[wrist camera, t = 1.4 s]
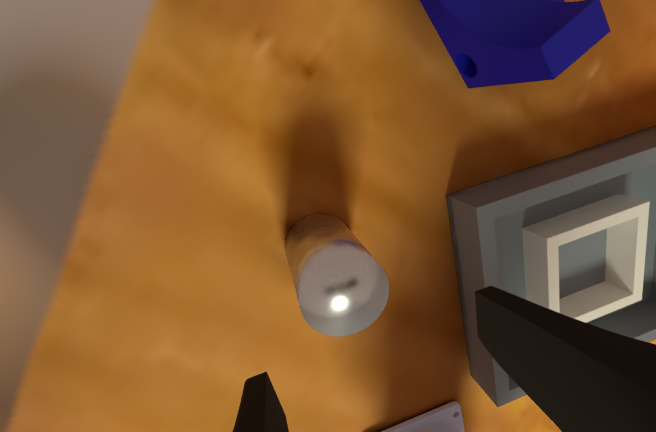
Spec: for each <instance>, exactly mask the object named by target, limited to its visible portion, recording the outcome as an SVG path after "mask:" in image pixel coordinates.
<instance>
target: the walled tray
mask: <svg viewBox="0 0 656 432" xmlns="http://www.w3.org/2000/svg"><path fill="white" fill-rule="evenodd" d="M446 199H447V206H448V213H449V221H450V228H451V235H452V242H453V249H454V257H455V264H456V271H457V278H458V285H459V292H460V300H461V307H462V314H463V321H464V328H465V336H466V343H467V350H468V357H469V364H470V372H471V376H472V377H473V378H474V380H475V381H476V382H477V383H478V384H479V386H480V387H481V388H482V389H483V390H484V391H485V393H486V394H487V395H488V396H489V397H490V399H491V400H492V401H493V402H494V403H495V404H496V406H497V407H499V406H502V405H504V404H506V403H509V402H511V401H513V400H516V399H518V398H520V397H522V396H525V395H527V394H526V393H525V392H524V391H523V390H522V389H521V388H520V387H519V386H518V385H517V384H516V383H515V381H514V380H513V379H512V378H511V377H510V376H509V375H508V374H507V373H506V372H505V371H504V370H503V369H502V368H501V367H500V366H499V364H498V363H497V362H496V361H495V359H494V358H493V357H492V356H491V354H490V353H489V352H488V350H487V349H486V348H485V346H484V345H483V344H482V342H481V341H480V340H479V338H478V332H477V318H476V303H475V291H478V290H480V289H483V288H486V287H488V286H493V287H496V288H499V289H501V290H504V291H506V292H509V293H511V294H514V295H516V296H518V297H521V298H523V299H526V300H528V301H531V302H533V303H536V304H538V305H540V306H543V307H545V308H548V309H550V310H553V311H556V312H558V313H561V314H563V315H566V316H569V317H571V318H574V319H577V320H579V321H582V322H585V323H588V324H591V325H594V326H597V327H600V328H602V329H605V330H608V331H611V332H614V333H618V334H621V335H624V336H627V337H631V338H634V339H638V340H641V341H645V342H650V341H653V340H655V339H656V126H654V127H651V128H648V129H645V130H642V131H639V132H636V133H633V134H630V135H627V136H624V137H621V138H618V139H615V140H612V141H609V142H606V143H603V144H600V145H597V146H594V147H591V148H588V149H585V150H582V151H579V152H576V153H573V154H569V155H566V156H563V157H560V158H557V159H554V160H551V161H548V162H545V163H542V164H539V165H536V166H533V167H530V168H527V169H524V170H521V171H518V172H515V173H512V174H509V175H506V176H503V177H500V178H497V179H494V180H491V181H488V182H485V183H482V184H479V185H476V186H473V187H470V188H467V189H464V190H461V191H458V192H455V193H452V194H449V195H446Z"/></svg>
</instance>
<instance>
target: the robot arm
mask: <svg viewBox="0 0 656 432" xmlns="http://www.w3.org/2000/svg"><path fill="white" fill-rule="evenodd" d="M475 303H476V318H477V332H478V338H479V340H480V341H481V342H482V344H483V345H484V346H485V348H486V349H487V350H488V352H489V353H490V354H491V356H492V357H493V358H494V359H495V361H496V362H497V363H498V364H499V366H500V367H501V368H502V369H503V370H504V371H505V372H506V373H507V374H508V375H509V376H510V377H511V378H512V379H513V380H514V381H515V383H516V384H517V385H518V386H519V387H520V388H521V389H522V390H523V391H524V392H525V393H526V394H527V395H528V396H529V397H530V398H531V399H532V400H533V401H534V402H535V403H536V404H537V405H538V406H539V407H540V409H541V410H542V411H543V412H544V413H545V414H546V415H547V416H548V417H549V418H550V419H551V420H552V421H553V422H554V423H555V424H556V425H557V426H558V427H559V429H560V430H561V431H562V432H656V345H655V344H652V343H648V342H645V341H641V340H638V339H634V338H631V337H627V336H624V335H621V334H618V333H614V332H611V331H608V330H605V329H602V328H600V327H597V326H594V325H591V324H588V323H585V322H582V321H579V320H577V319H574V318H571V317H569V316H566V315H563V314H561V313H558V312H556V311H553V310H550V309H548V308H545V307H543V306H540V305H538V304H536V303H533V302H531V301H528V300H526V299H523V298H521V297H518V296H516V295H514V294H511V293H509V292H506V291H504V290H501V289H499V288H496V287H493V286H488V287H486V288H483V289H480V290H478V291H475ZM233 432H289V431H288V426H287V421H286V416H285V413H284V411H283V409H282V406H281V404H280V402H279V399H278V397H277V395H276V392H275V390H274V388H273V386H272V383H271V381H270V379H269V376H268V374H267V372H264V373H262V374H259V375H257V376H254V377H251V378H249V379H247V380H246V382H245V384H244V389H243V394H242V398H241V403H240V407H239V411H238V415H237V418H236V422H235V426H234V429H233ZM381 432H465V430H464V424H463V417H462V411H461V406H460V405H459V403H458V402H456V401H453V402H450V403H448V404H445V405H443V406H441V407H438V408H436V409H434V410H431V411H429V412H426V413H424V414H422V415H419V416H417V417H414V418H412V419H410V420H407V421H405V422H403V423H400V424H398V425H395V426H393V427H391V428H388V429H386V430H383V431H381Z"/></svg>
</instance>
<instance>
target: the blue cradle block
mask: <svg viewBox="0 0 656 432" xmlns="http://www.w3.org/2000/svg"><path fill="white" fill-rule="evenodd" d="M420 1H421V3H422V5H423V7H424V9H425V10H426V12H427V14H428V16H429V18H430V20H431V21H432V23H433V25H434V27H435V29H436V30H437V32H438V34H439V36H440V38H441V40H442V41H443V43H444V45H445V47H446V49H447V50H448V52H449V54H450V56H451V58H452V60H453V61H454V63H455V65H456V67H457V69H458V70H459V72H460V74H461V76H462V78H463V80H464V81H465V83H466V85H467V87H468V88H475V87H484V86H494V85H503V84H513V83H522V82H531V81H541V80H550V79H555V78H556V77H557V76H558V75H559V74H561V73H562V72H563V71H564V70H565V69H566V68H568V67H569V66H570V65H571V64H572V63H574V62H575V61H576V60H577V59H578V58H579V57H581V56H582V55H583V54H584V53H585V52H586V51H588V50H589V49H590V48H591V47H592V46H593V45H595V44H596V43H597V42H598V41H599V40H601V39H602V38H603V37H604V36H605V35H606V34H608V33H609V32H610V29H609V26H608V23H607V20H606V17H605V14H604V11H603V8H602V5H601V2H600V0H585V1H578V2H564V0H420Z"/></svg>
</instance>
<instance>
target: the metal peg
mask: <svg viewBox="0 0 656 432" xmlns="http://www.w3.org/2000/svg"><path fill="white" fill-rule="evenodd" d="M285 252H286V256H287V260H288V263H289V267H290V271H291V275H292V278H293V282H294V286H295V290H296V293H297V297H298V301H299V305H300V309H301V312H302V315H303V317H304V319H305V320H306V322H307V323H308V324H309V325H310V326H311V327H312V328H313V329H315V330H316V331H318V332H320V333H322V334H325V335H329V336H348V335H352V334H355V333H358V332H360V331H362V330H364V329H365V328H367V327H368V326H370V325H371V324H372V323H373V322H374V321H375V320H376V319H377V318H378V317H379V316H380V315H381V313H382V312H383V310H384V308H385V306H386V303H387V301H388V297H389V282H388V278H387V275H386V273H385V271H384V270H383V268H382V267H381V266H380V265H379V264H378V262H377V261H376V260H375V259H374V258H373V257H372V255H371V254H370V253H369V252H368V251H367V250H366V248H365V247H364V246H363V245H362V244H361V243H360V241H359V240H358V239H357V238H356V237H355V236H354V234H353V233H352V232H351V231H350V230H349V229H348V227H347V226H346V225H345V224H344V223H343V222H342V221H341V220H340V219H339V218H337V217H335V216H333V215H330V214H325V213H316V214H311V215H308V216H306V217H304V218H302V219H300V220H299V221H298V222H297V223H295V224H294V226H293V227H292V228H291V230H290V231H289V233H288V235H287V238H286V242H285Z"/></svg>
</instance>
